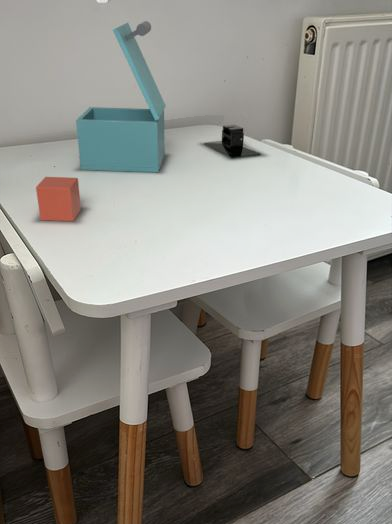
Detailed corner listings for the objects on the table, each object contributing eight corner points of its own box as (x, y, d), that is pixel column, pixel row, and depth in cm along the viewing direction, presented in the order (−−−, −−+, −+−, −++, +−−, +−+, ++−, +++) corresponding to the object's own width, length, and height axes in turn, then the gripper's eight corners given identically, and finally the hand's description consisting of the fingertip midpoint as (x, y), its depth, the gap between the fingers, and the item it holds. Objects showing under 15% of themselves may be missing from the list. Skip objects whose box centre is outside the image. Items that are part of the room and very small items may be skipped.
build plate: (203, 144, 121) (204, 122, 119) (233, 141, 124) (234, 119, 122) (231, 158, 112) (233, 134, 110) (262, 155, 115) (264, 131, 112)
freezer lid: (112, 29, 91) (138, 15, 90) (124, 24, 101) (147, 11, 99) (155, 120, 99) (179, 109, 97) (162, 107, 108) (184, 96, 107)
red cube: (40, 220, 83) (35, 187, 80) (49, 208, 87) (45, 176, 84) (73, 221, 83) (69, 188, 80) (81, 209, 87) (77, 177, 84)
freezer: (80, 169, 104) (75, 120, 99) (93, 153, 114) (89, 107, 109) (158, 172, 104) (157, 122, 99) (164, 155, 113) (164, 109, 108)
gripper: (94, -104, 89) (100, -2, 97) (63, -123, 72) (74, 3, 80) (133, -103, 89) (136, -1, 96) (112, -121, 72) (118, 5, 79)
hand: (108, 1), depth 88 cm, fingers open, 8 cm apart
